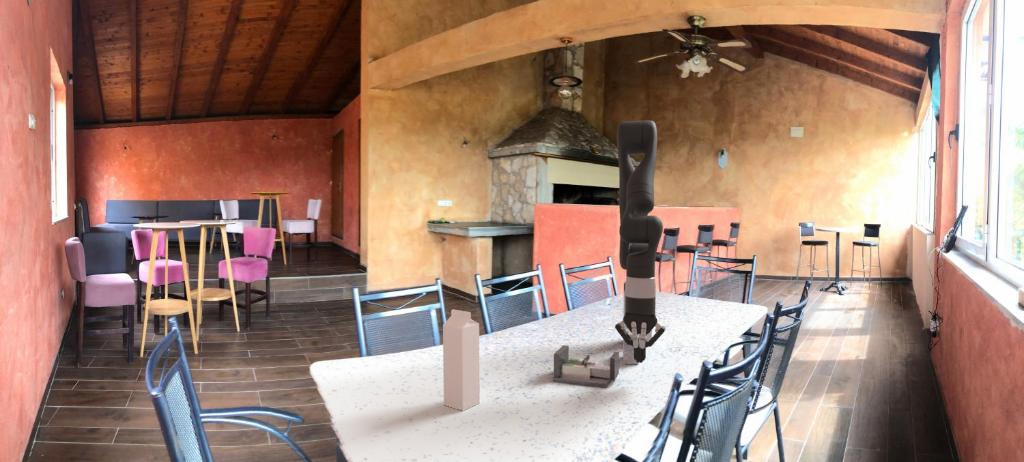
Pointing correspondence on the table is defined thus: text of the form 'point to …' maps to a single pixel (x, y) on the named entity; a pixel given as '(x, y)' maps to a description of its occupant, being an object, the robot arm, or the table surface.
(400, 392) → the table surface
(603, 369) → the plunger
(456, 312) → the milk
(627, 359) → the medicine box
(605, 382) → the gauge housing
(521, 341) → the table surface
